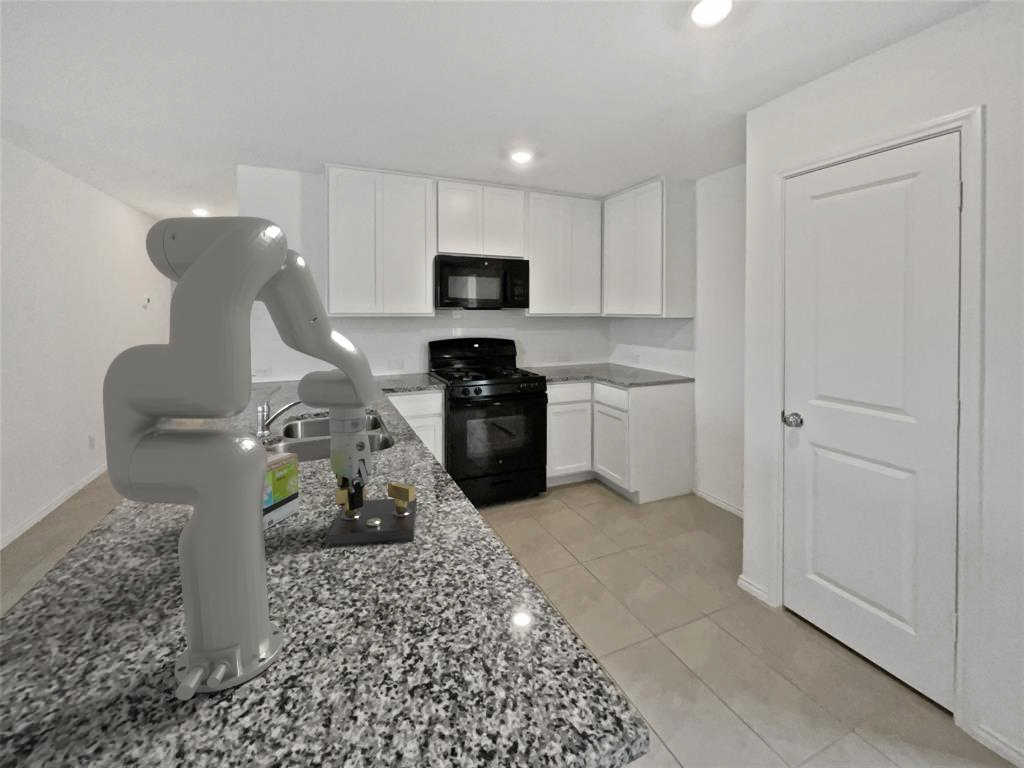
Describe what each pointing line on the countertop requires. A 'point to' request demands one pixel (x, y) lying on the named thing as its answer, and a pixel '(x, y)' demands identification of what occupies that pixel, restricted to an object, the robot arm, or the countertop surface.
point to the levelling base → (374, 524)
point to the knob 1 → (346, 499)
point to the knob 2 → (401, 495)
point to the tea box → (280, 488)
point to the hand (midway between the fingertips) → (351, 505)
